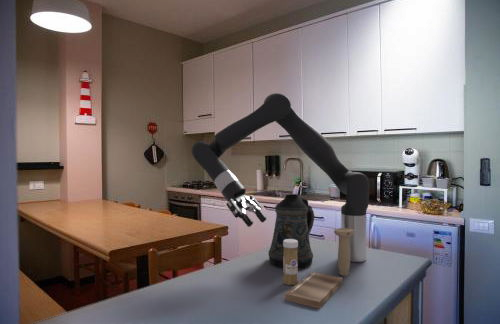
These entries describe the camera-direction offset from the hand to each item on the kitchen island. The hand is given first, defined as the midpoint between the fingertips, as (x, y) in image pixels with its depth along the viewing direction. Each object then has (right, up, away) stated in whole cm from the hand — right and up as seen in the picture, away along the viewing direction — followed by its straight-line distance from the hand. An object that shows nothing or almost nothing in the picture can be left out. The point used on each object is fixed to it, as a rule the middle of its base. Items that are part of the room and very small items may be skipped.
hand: (258, 222), depth 111 cm
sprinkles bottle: (+10, -18, -6) cm, 21 cm away
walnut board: (+17, -18, -12) cm, 27 cm away
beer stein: (+13, -17, +16) cm, 27 cm away
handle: (+29, -18, +1) cm, 34 cm away
